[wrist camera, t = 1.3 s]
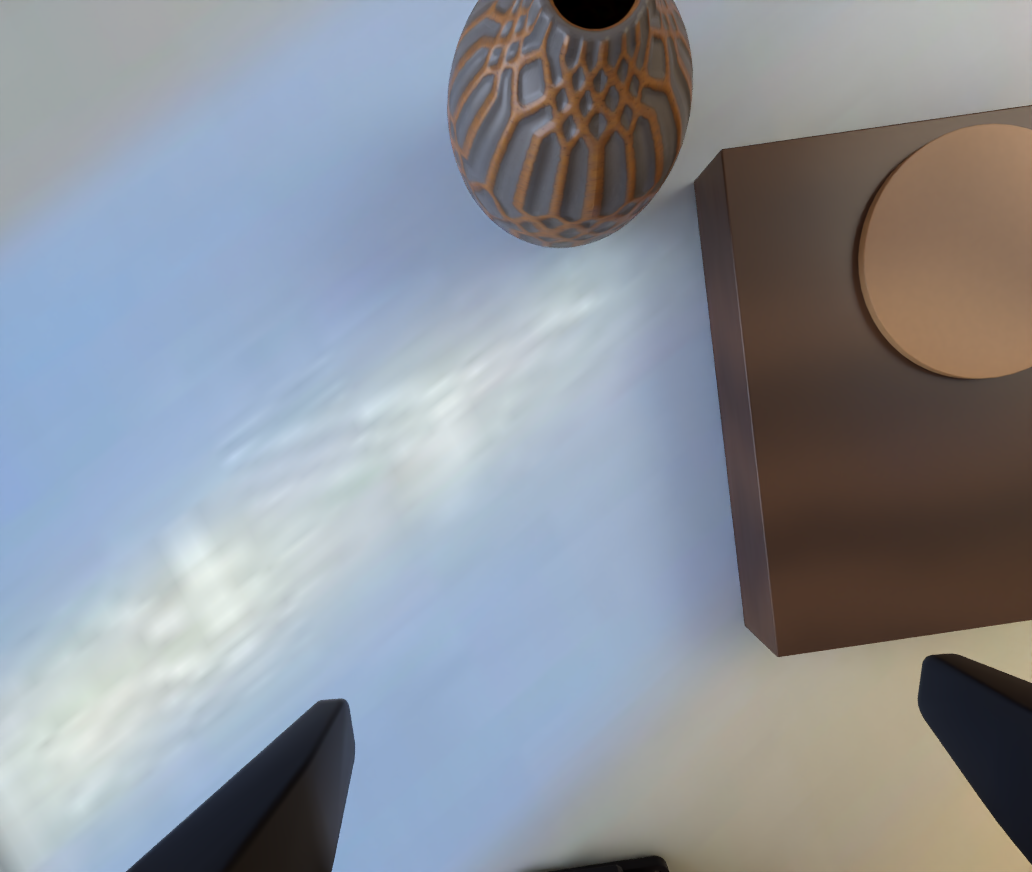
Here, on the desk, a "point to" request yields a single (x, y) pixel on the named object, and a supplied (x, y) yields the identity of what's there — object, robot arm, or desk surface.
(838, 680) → the desk surface
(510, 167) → the vase
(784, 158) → the riser board
